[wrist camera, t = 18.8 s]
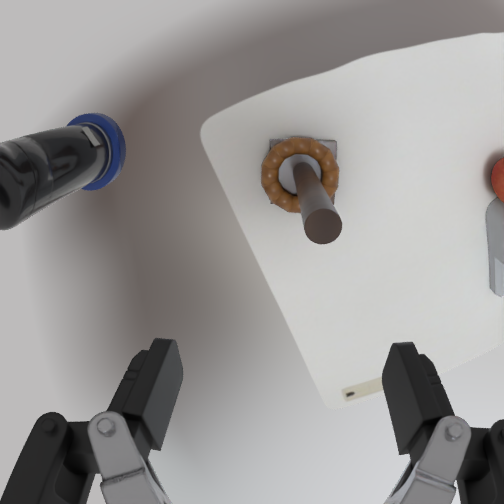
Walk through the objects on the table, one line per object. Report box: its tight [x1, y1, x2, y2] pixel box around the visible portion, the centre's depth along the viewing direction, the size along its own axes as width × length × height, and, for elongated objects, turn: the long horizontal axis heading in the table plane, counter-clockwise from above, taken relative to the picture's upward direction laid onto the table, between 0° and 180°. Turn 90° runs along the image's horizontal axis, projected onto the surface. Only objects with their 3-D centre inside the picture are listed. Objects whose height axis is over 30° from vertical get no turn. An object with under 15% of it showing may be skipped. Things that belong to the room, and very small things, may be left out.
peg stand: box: [270, 139, 342, 244], centre depth 30 cm, size 8×8×20 cm
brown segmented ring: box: [261, 137, 339, 213], centre depth 36 cm, size 9×9×2 cm
